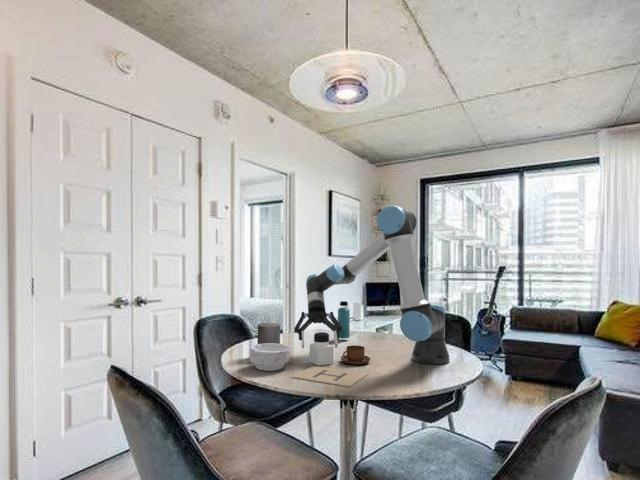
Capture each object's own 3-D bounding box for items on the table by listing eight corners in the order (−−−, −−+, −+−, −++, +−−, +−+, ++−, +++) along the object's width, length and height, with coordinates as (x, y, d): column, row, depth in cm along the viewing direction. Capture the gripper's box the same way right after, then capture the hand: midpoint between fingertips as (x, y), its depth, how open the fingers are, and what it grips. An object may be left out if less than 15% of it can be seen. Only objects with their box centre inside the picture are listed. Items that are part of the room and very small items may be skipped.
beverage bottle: (349, 338, 207) (349, 300, 208) (350, 341, 201) (350, 302, 202) (336, 338, 207) (337, 300, 208) (337, 341, 201) (338, 301, 202)
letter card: (367, 374, 142) (367, 373, 142) (350, 387, 128) (350, 386, 128) (313, 366, 152) (313, 365, 152) (292, 377, 138) (292, 376, 138)
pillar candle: (252, 356, 168) (253, 321, 169) (271, 353, 174) (272, 318, 175) (265, 361, 161) (266, 323, 161) (284, 357, 167) (285, 321, 168)
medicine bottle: (333, 363, 157) (333, 333, 158) (318, 366, 154) (318, 335, 154) (324, 359, 163) (324, 330, 164) (309, 361, 160) (309, 332, 160)
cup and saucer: (360, 368, 151) (360, 352, 152) (334, 363, 159) (334, 347, 159) (375, 362, 161) (375, 347, 161) (351, 357, 168) (351, 343, 169)
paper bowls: (291, 373, 144) (291, 350, 144) (248, 374, 142) (249, 351, 142) (288, 362, 159) (288, 342, 159) (250, 363, 157) (250, 343, 157)
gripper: (342, 309, 179) (348, 350, 163) (287, 309, 176) (288, 351, 160) (345, 299, 174) (351, 340, 158) (288, 299, 171) (289, 341, 155)
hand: (319, 346), depth 159 cm, fingers open, 13 cm apart
